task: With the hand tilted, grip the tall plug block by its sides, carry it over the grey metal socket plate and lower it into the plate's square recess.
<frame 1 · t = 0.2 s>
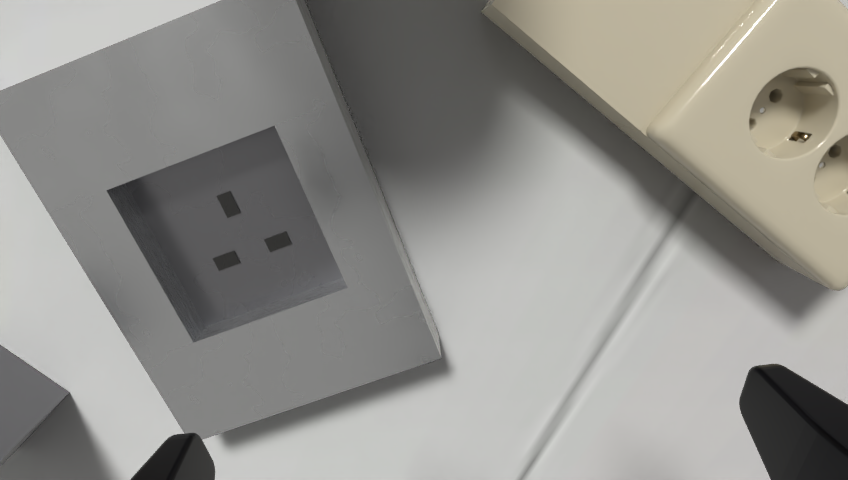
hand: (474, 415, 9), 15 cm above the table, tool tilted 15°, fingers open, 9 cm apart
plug: (1, 393, 26), on the table
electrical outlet: (697, 78, 23), on the table
socket plate: (247, 224, 24), on the table
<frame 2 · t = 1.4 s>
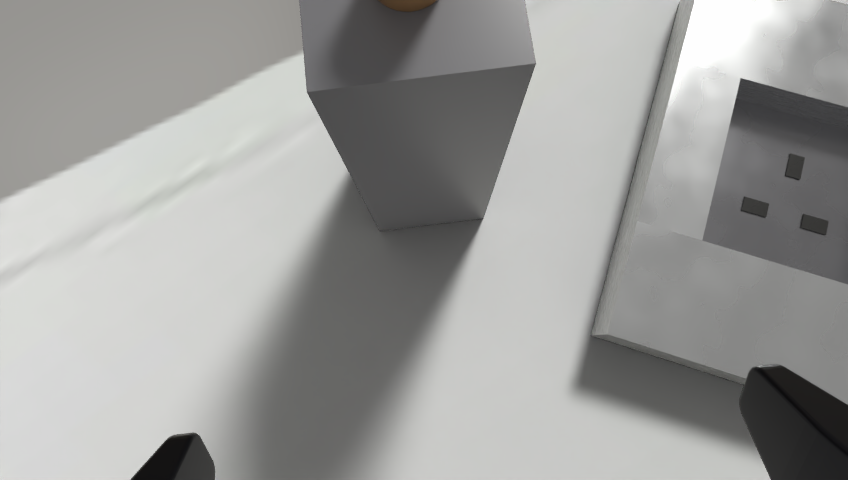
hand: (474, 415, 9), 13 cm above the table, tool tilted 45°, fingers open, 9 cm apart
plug: (425, 175, 24), on the table
socket plate: (776, 198, 23), on the table
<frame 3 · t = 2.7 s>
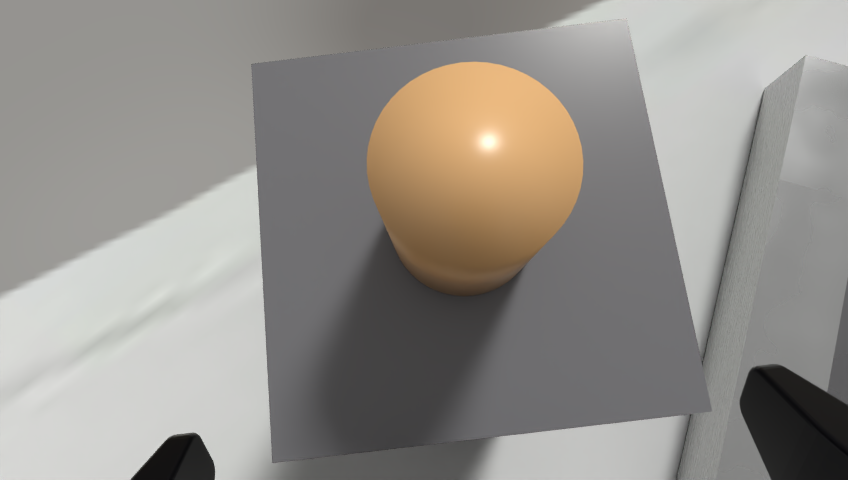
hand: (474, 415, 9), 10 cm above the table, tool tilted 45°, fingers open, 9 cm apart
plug: (447, 312, 19), on the table
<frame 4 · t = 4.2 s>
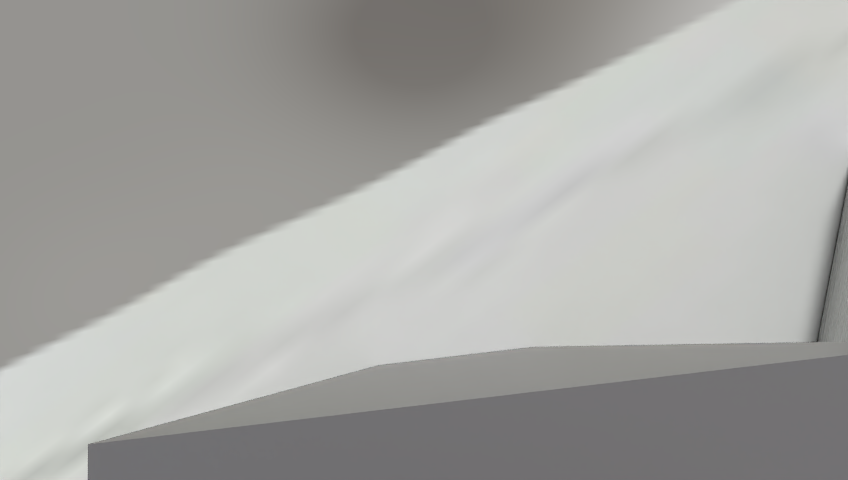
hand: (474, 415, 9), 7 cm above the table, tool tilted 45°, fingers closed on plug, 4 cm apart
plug: (466, 438, 15), on the table, touching gripper
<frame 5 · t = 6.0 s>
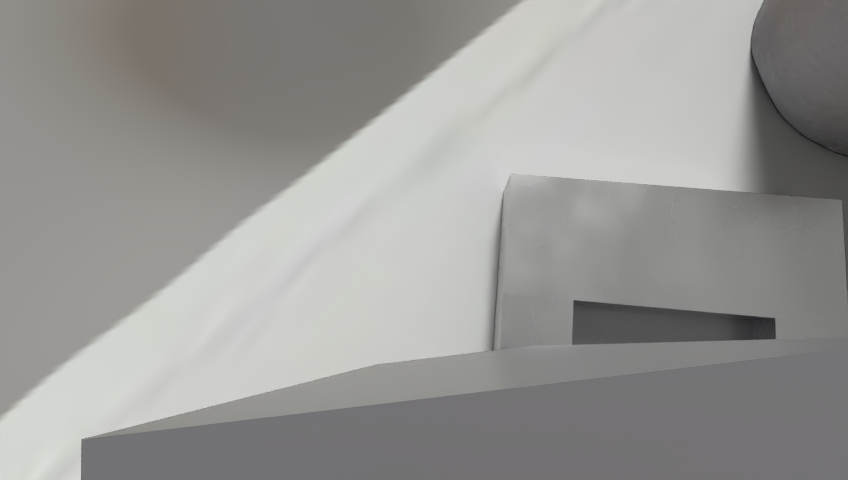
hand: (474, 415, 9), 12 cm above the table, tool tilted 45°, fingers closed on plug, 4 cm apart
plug: (464, 437, 15), point 6 cm above the table, touching gripper
socket plate: (647, 404, 21), on the table
when the fingers open (8 cm above the table, at t = 7.8 s): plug stays where it is, resting on socket plate.
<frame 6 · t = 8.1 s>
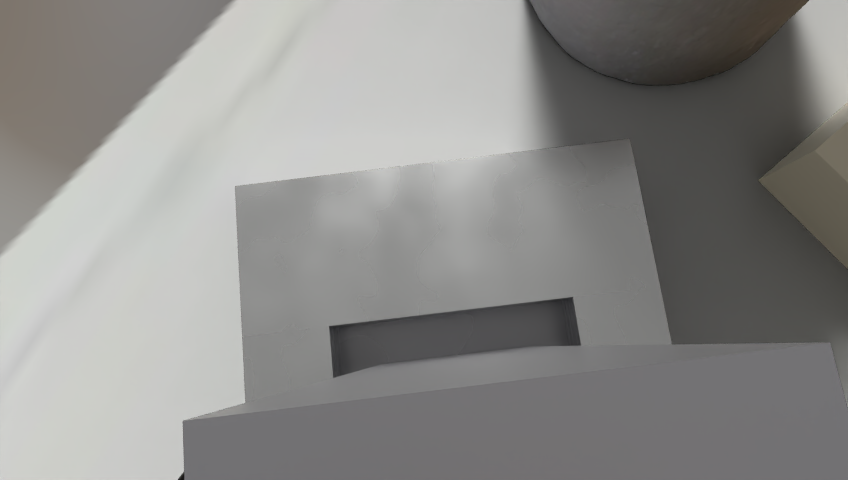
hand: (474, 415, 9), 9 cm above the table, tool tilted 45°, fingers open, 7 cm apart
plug: (464, 432, 16), point 1 cm above the table, touching socket plate
socket plate: (463, 427, 17), on the table
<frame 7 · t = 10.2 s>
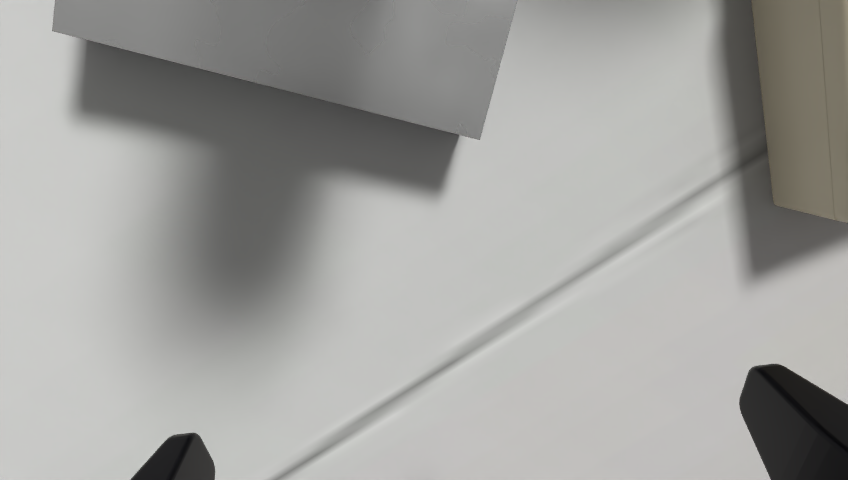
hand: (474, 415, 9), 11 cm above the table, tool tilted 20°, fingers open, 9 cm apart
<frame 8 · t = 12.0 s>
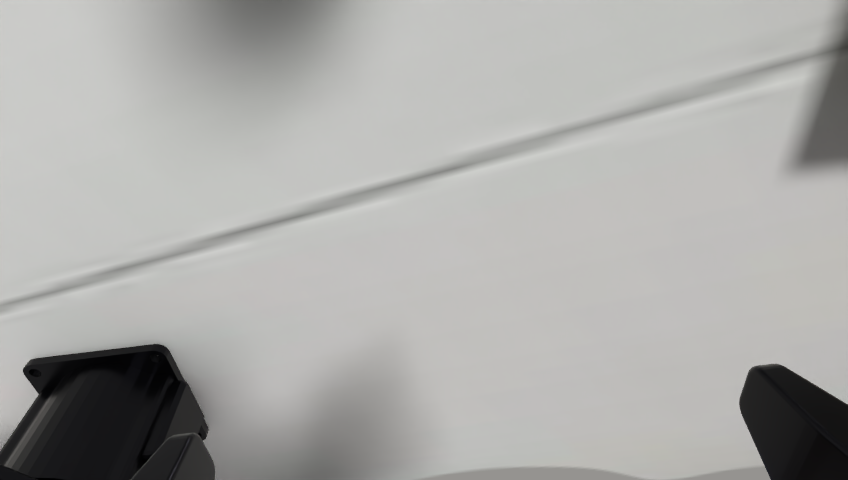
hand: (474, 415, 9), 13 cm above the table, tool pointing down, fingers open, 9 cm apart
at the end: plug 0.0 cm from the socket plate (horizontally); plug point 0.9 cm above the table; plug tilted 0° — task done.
